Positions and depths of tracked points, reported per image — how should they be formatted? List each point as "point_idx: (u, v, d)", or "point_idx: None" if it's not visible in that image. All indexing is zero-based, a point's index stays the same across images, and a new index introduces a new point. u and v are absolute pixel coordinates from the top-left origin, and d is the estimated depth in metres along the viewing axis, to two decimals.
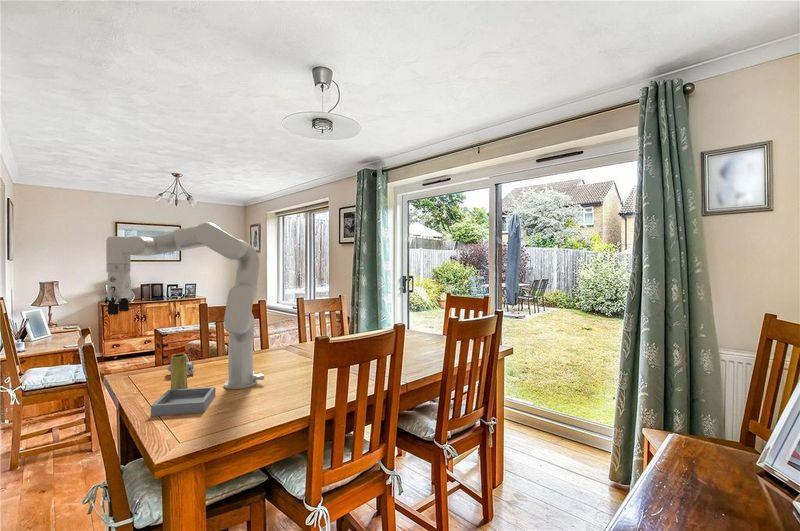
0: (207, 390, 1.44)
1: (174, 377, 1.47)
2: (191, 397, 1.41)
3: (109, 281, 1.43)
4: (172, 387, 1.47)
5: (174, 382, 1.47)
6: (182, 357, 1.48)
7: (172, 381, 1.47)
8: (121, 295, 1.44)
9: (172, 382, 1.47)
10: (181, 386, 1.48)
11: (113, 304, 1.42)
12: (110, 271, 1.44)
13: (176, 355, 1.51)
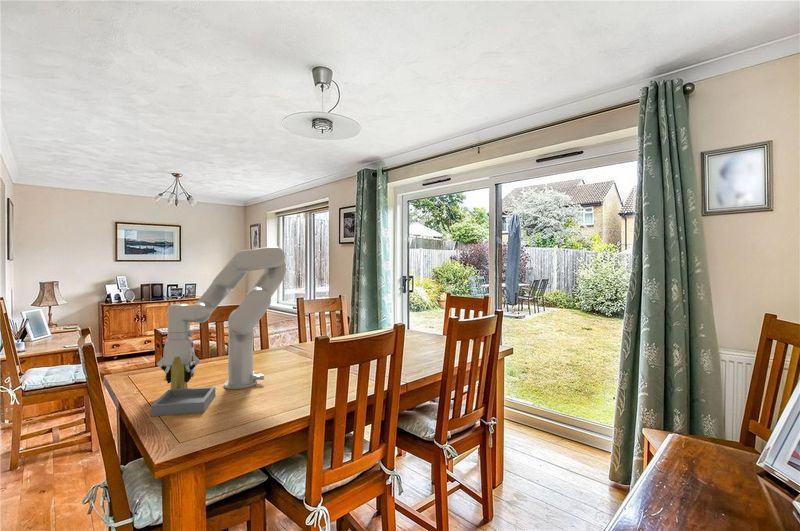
0: (207, 390, 1.44)
1: (174, 377, 1.47)
2: (191, 397, 1.41)
3: (191, 347, 1.49)
4: (172, 387, 1.47)
5: (174, 382, 1.47)
6: None
7: (172, 381, 1.47)
8: None
9: (172, 382, 1.47)
10: (181, 386, 1.48)
11: None
12: (187, 338, 1.49)
13: None
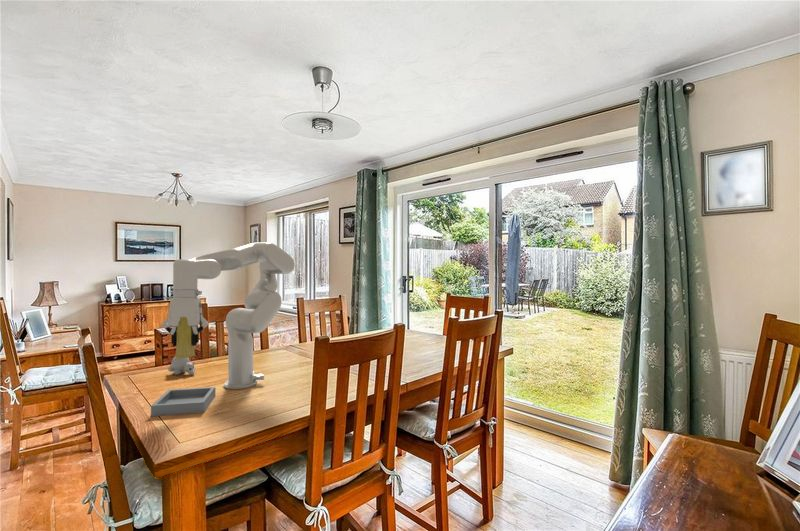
0: (207, 390, 1.44)
1: (180, 339, 1.33)
2: (191, 397, 1.41)
3: (198, 307, 1.35)
4: (178, 350, 1.33)
5: (180, 345, 1.33)
6: None
7: (177, 343, 1.33)
8: None
9: (178, 345, 1.33)
10: (188, 350, 1.34)
11: None
12: (195, 297, 1.35)
13: None
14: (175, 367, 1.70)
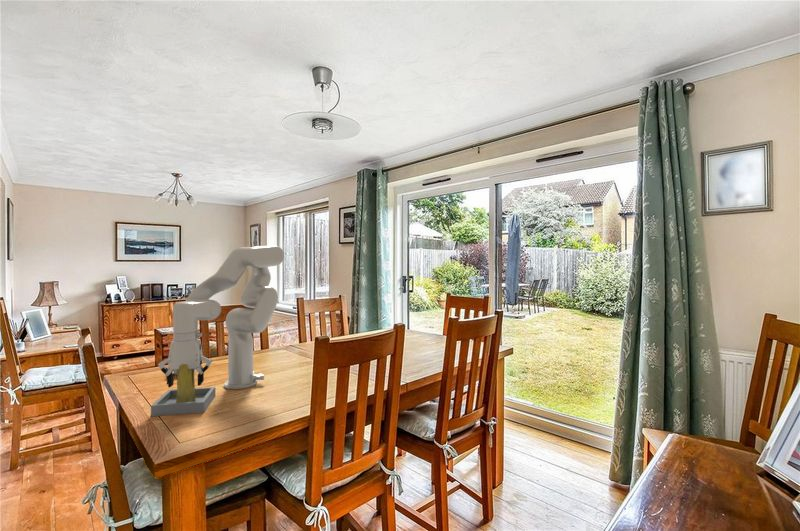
0: (207, 390, 1.44)
1: (181, 386, 1.33)
2: None
3: (199, 350, 1.35)
4: (178, 398, 1.33)
5: (180, 392, 1.33)
6: None
7: (178, 391, 1.33)
8: None
9: (178, 392, 1.33)
10: (188, 396, 1.34)
11: (203, 373, 1.37)
12: (195, 340, 1.35)
13: None
14: None
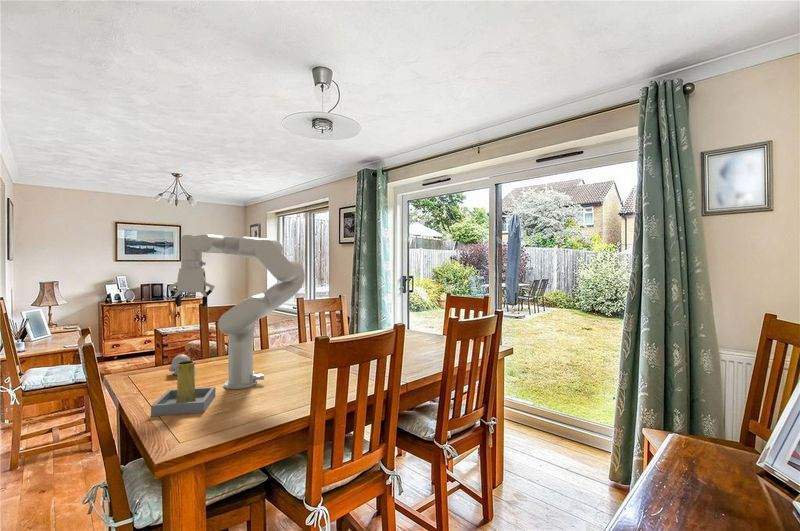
0: (207, 390, 1.44)
1: (181, 386, 1.33)
2: None
3: (203, 276, 1.58)
4: (179, 398, 1.33)
5: (180, 392, 1.33)
6: (189, 364, 1.34)
7: (178, 391, 1.33)
8: None
9: (178, 392, 1.33)
10: (188, 396, 1.34)
11: None
12: (199, 267, 1.58)
13: (183, 362, 1.37)
14: (176, 367, 1.70)
